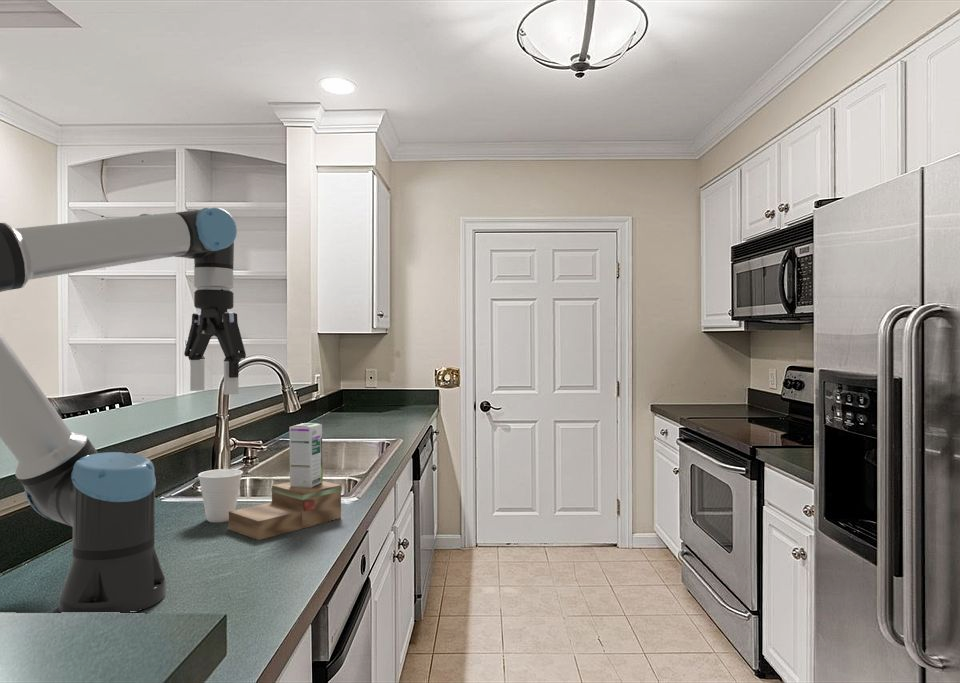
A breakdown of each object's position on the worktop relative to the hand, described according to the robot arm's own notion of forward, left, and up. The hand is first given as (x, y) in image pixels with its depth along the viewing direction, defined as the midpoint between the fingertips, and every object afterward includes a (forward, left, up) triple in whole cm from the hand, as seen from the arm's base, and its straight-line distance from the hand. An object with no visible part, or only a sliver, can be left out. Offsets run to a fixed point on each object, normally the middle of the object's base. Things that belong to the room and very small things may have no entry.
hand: (213, 392), depth 135 cm
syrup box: (+25, +2, -24) cm, 34 cm away
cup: (+11, +17, -32) cm, 38 cm away
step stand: (+19, +2, -32) cm, 37 cm away
